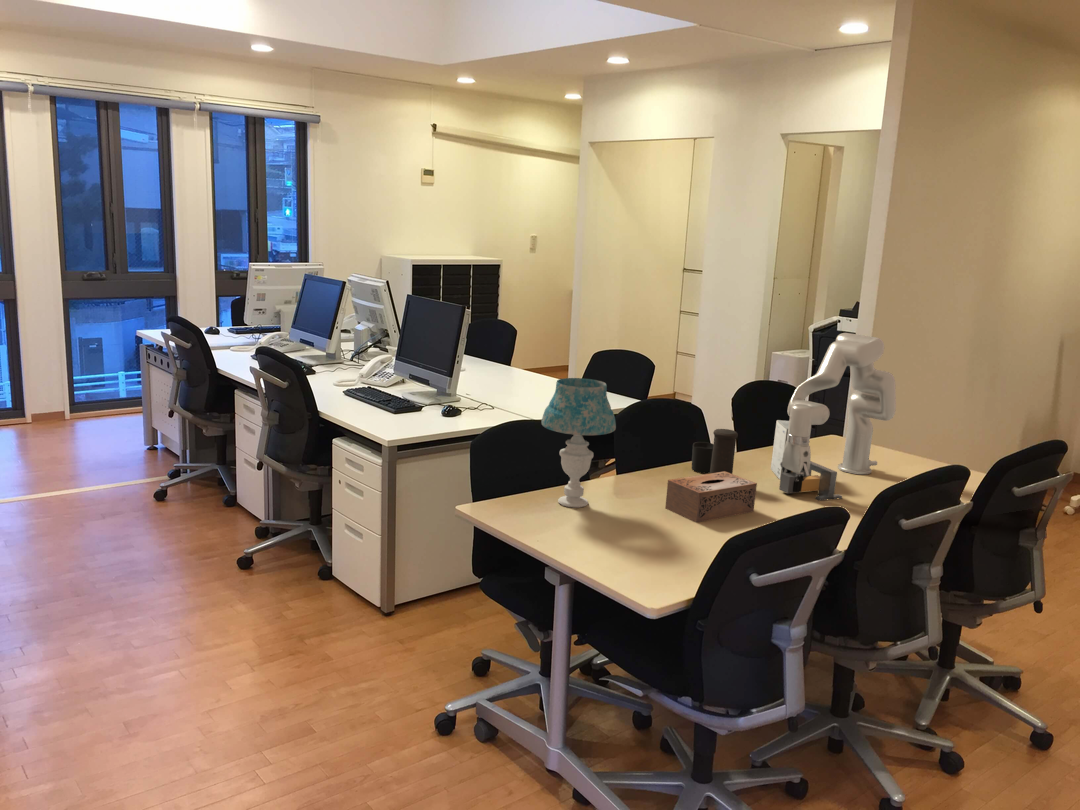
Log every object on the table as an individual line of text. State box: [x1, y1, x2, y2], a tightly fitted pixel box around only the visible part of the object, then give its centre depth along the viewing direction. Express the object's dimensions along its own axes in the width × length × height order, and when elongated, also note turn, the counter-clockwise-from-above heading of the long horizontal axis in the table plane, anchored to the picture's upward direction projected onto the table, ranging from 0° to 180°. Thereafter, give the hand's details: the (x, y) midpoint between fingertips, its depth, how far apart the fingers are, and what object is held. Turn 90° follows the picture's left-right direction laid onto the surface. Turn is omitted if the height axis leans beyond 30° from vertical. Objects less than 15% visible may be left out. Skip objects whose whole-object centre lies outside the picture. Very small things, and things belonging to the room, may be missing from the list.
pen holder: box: [691, 441, 714, 474], centre depth 325 cm, size 9×9×10 cm
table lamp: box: [541, 377, 617, 509], centre depth 274 cm, size 24×24×40 cm
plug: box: [778, 472, 820, 494], centre depth 305 cm, size 16×5×6 cm, turn 113°
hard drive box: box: [770, 419, 795, 480], centre depth 325 cm, size 16×8×20 cm, turn 179°
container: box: [709, 428, 739, 474], centre depth 309 cm, size 9×9×20 cm
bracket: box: [799, 460, 843, 501], centre depth 307 cm, size 10×18×10 cm, turn 22°
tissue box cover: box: [664, 471, 758, 523], centre depth 279 cm, size 26×14×10 cm, turn 123°
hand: (791, 488), depth 304 cm, fingers closed on plug, 4 cm apart
